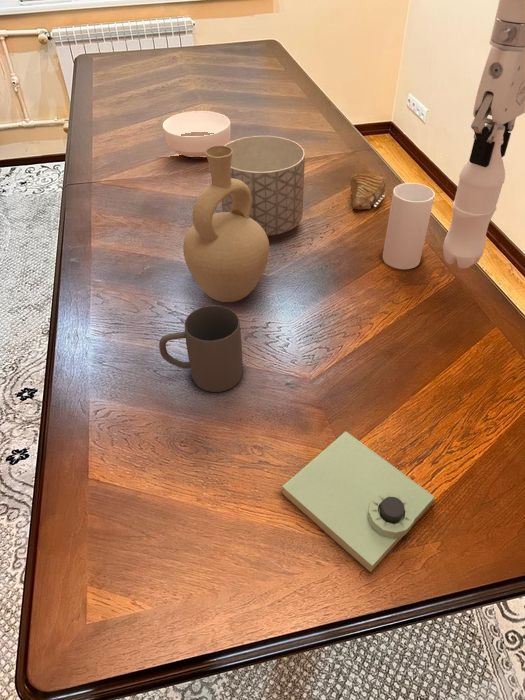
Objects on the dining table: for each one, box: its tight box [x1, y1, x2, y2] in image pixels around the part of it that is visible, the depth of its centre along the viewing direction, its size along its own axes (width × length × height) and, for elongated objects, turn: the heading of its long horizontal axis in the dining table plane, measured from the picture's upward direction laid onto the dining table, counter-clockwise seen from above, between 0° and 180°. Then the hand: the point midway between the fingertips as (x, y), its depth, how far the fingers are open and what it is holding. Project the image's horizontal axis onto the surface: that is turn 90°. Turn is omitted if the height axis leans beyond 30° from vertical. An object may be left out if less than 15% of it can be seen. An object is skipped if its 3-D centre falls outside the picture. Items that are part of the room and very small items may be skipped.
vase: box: [182, 146, 270, 303], centre depth 101 cm, size 17×17×30 cm
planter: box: [221, 135, 306, 237], centre depth 124 cm, size 19×19×18 cm
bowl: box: [162, 110, 231, 159], centre depth 159 cm, size 20×20×8 cm
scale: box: [281, 431, 436, 573], centre depth 75 cm, size 16×14×4 cm
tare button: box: [380, 497, 405, 523], centre depth 71 cm, size 3×3×2 cm
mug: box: [158, 304, 244, 393], centre depth 90 cm, size 14×9×12 cm
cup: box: [382, 182, 436, 270], centre depth 114 cm, size 8×8×16 cm
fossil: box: [349, 173, 387, 210], centre depth 136 cm, size 12×6×9 cm
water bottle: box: [442, 123, 506, 270], centre depth 93 cm, size 7×7×25 cm
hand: (486, 158), depth 88 cm, fingers closed on water bottle, 4 cm apart
